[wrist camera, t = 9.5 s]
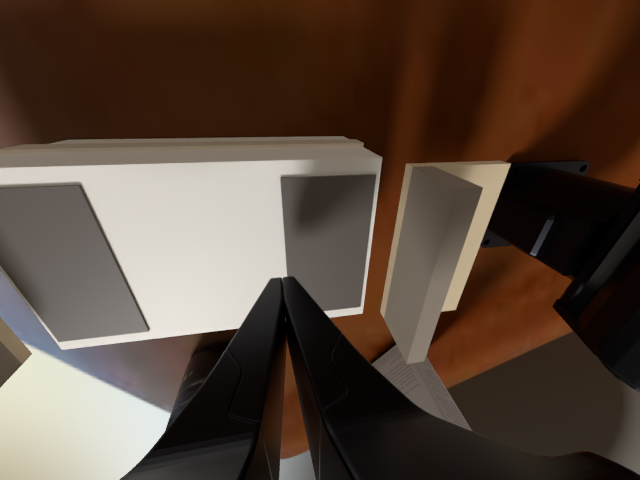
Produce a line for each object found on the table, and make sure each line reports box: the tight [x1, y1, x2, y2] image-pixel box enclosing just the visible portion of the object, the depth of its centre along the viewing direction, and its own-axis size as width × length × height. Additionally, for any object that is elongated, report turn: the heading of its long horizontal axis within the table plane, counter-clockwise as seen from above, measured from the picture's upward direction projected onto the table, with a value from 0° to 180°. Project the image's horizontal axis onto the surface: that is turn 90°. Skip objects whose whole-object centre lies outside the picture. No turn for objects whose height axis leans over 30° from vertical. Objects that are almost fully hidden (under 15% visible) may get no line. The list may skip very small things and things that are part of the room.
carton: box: [0, 136, 382, 350], centre depth 13 cm, size 14×8×6 cm, turn 89°
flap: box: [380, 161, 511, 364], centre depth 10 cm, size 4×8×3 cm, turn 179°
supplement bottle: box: [166, 342, 230, 430], centre depth 17 cm, size 7×7×12 cm
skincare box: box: [372, 344, 472, 431], centre depth 21 cm, size 6×4×12 cm
